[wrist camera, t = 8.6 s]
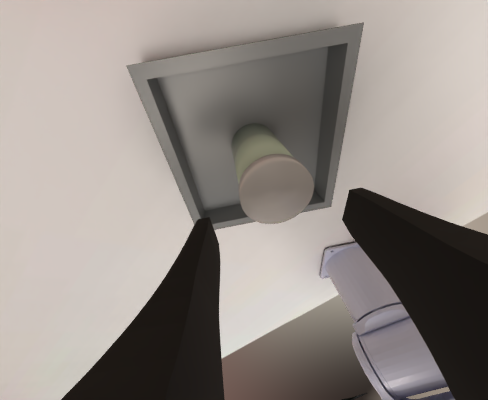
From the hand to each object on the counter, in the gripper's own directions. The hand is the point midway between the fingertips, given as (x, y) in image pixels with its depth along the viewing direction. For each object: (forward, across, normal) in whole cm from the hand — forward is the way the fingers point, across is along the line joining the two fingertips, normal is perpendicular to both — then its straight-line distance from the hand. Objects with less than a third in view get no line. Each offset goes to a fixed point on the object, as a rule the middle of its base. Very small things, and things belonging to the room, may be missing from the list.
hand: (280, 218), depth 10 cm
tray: (+10, 0, 0) cm, 10 cm away
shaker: (+9, 0, 0) cm, 9 cm away
